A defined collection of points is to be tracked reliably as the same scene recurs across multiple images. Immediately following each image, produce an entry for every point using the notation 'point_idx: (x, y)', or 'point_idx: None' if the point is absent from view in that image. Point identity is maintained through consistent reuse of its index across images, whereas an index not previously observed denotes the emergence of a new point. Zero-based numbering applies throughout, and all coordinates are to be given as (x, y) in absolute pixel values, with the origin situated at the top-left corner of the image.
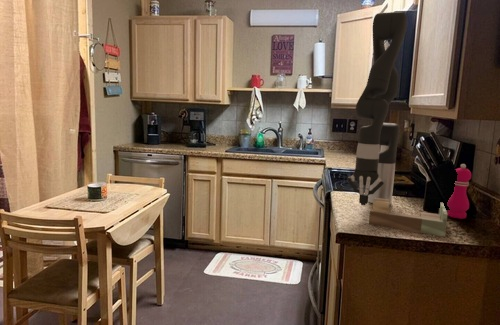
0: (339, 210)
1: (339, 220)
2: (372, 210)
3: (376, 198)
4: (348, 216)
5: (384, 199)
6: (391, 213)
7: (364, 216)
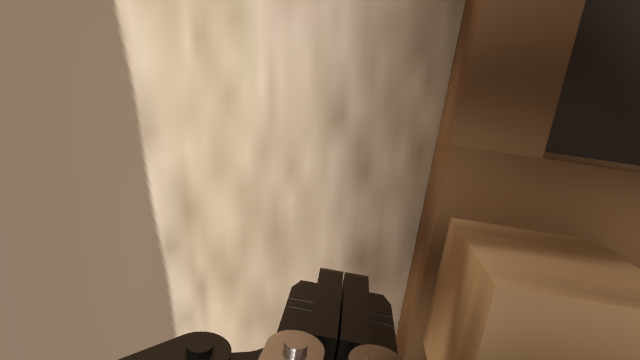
0: (147, 66)
1: None
2: (444, 191)
3: (515, 323)
4: (237, 225)
5: (632, 341)
6: (633, 233)
7: (368, 175)
